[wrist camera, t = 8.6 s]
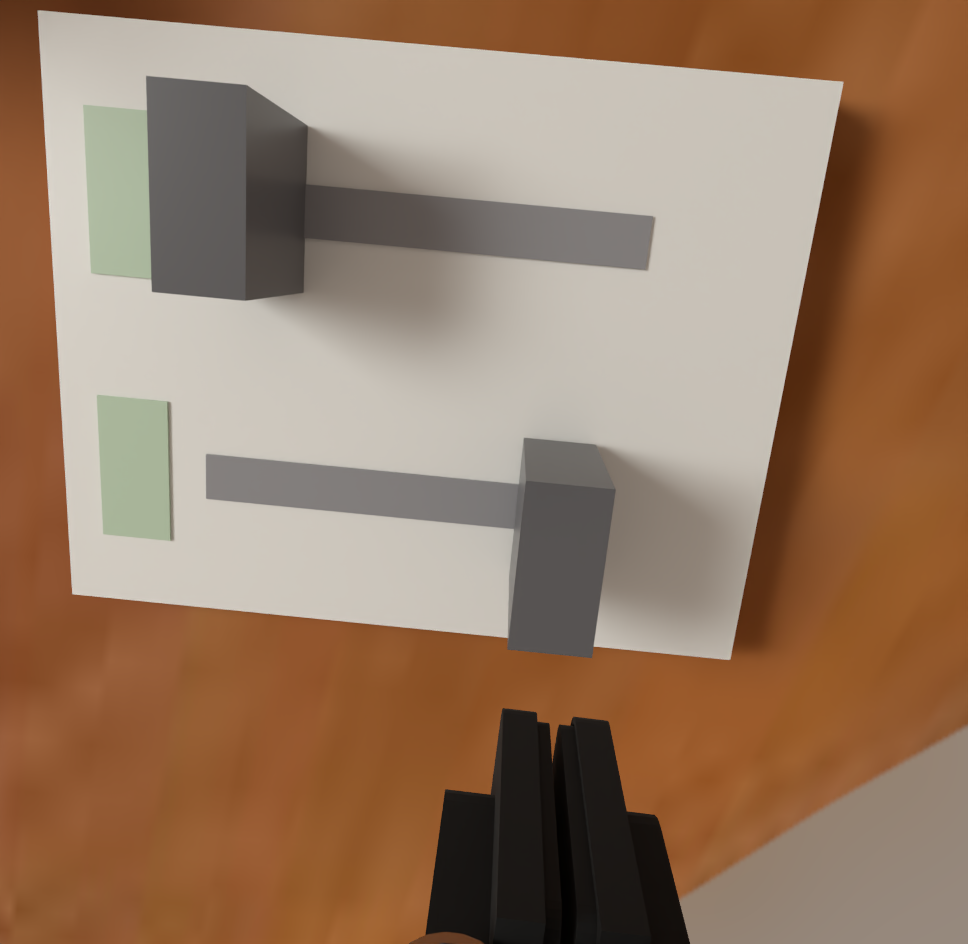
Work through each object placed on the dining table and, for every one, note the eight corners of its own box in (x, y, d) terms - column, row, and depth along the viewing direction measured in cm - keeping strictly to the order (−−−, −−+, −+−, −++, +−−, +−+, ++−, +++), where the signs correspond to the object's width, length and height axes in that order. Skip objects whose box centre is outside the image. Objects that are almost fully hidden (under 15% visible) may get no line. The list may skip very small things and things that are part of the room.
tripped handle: (595, 444, 25) (615, 489, 20) (577, 583, 27) (592, 658, 22) (523, 437, 25) (525, 480, 20) (508, 576, 27) (507, 649, 22)
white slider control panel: (817, 96, 24) (945, 25, 17) (716, 634, 29) (781, 754, 22) (74, 29, 25) (-108, -67, 17) (101, 572, 30) (-33, 672, 22)
